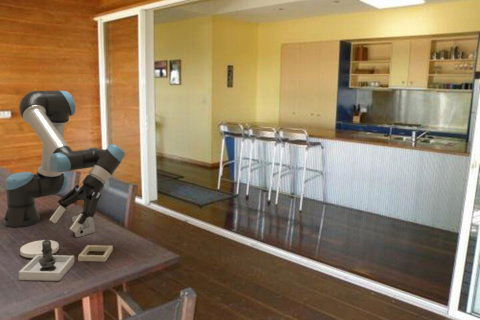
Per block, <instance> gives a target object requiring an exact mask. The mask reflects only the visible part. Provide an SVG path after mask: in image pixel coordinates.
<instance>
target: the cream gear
mask: <svg viewBox="0 0 480 320" xmlns="http://www.w3.org/2000/svg"><path fill="white" fill-rule="evenodd" d="M48 240H49V239H48ZM43 241H45V239H43V240H42V239H40V240H35V241H31V242H27V243H26V244H24V245H22V246H21V247H20V249H19V254H20V255H21V257H24V258H28V259H33V258H34V257H35V256H36V255H43V252H42V249H43V248H42V242H43ZM49 241H51V248H52V255H54V254H56V253H57V252H58V251H59V249H60V245H59V242H58V241H55V240H51V239H50V240H49Z"/></svg>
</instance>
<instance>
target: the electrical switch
mask: <svg viewBox="0 0 480 320" xmlns="http://www.w3.org/2000/svg"><path fill="white" fill-rule="evenodd" d="M81 214H82V213H81ZM79 215H80V214H79ZM79 215H75V216H72V218H70V222H71V226H72V225H73V223H74V222H75V221H76V219H77V218H78V216H79ZM82 215H83V214H82ZM93 217H94V216H93ZM93 217H88V218H87V219H86V220H85V222H84V223H83V224H82V225H81V226H80V228H79V229H78V231H77V232H76V233H75V232H73V231H72V233H73V236H75V238H80V237H83V236H87V235H91V234H93V233H95V232H96V229H95V224H94V223H95V222H94V219H93Z"/></svg>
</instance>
